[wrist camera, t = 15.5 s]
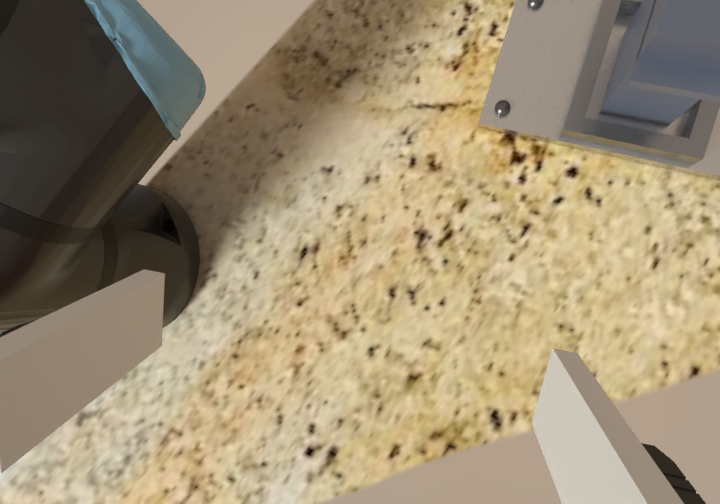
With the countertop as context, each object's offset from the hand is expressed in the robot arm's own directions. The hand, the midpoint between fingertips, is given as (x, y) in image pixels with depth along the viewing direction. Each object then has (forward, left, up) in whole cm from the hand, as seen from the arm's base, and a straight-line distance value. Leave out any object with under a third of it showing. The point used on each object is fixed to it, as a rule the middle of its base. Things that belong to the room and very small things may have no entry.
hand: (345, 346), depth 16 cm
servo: (+11, +22, -24) cm, 34 cm away
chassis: (+11, +22, -25) cm, 35 cm away
